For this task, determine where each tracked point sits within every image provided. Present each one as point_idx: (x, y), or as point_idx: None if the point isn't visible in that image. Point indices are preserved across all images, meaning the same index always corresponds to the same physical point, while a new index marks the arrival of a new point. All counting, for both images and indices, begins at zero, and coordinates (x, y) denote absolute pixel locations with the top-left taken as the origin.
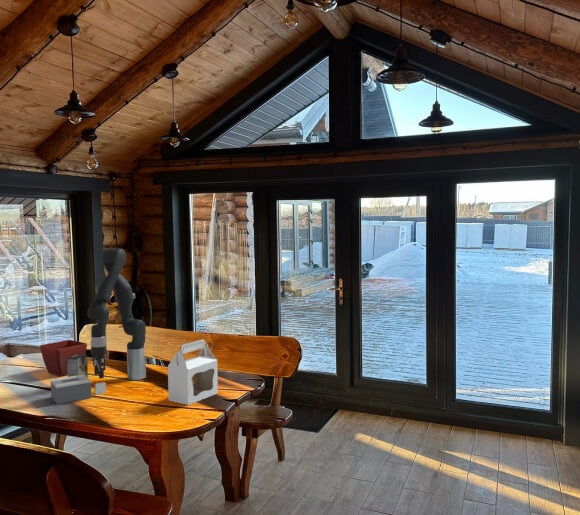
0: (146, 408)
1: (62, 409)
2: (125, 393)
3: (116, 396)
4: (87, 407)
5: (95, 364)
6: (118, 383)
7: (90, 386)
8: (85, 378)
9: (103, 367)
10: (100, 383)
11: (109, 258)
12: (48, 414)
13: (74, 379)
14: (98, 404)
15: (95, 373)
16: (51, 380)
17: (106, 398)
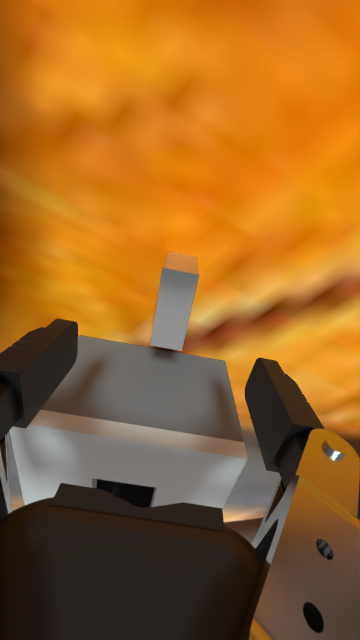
0: None
1: (259, 475)
2: (343, 152)
3: (333, 247)
4: (332, 423)
5: (7, 500)
6: (10, 10)
7: (236, 416)
8: (156, 459)
9: (351, 497)
10: (172, 310)
11: None
12: (265, 508)
13: (94, 483)
14: (347, 380)
15: (70, 364)
16: None
17: (305, 311)
